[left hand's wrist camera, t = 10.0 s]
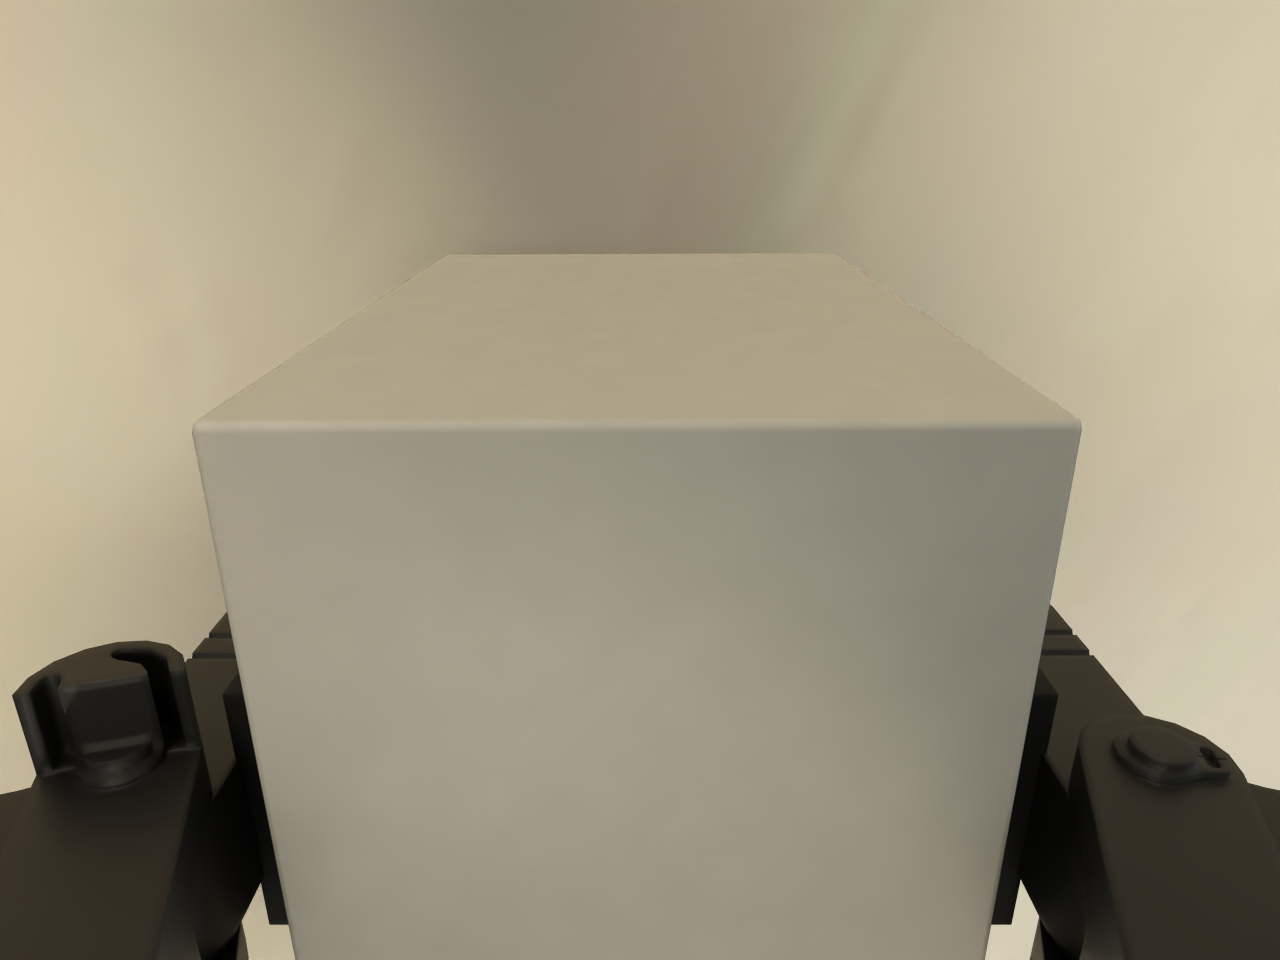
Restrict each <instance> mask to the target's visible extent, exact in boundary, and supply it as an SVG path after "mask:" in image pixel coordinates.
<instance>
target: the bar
mask: <svg viewBox="0 0 1280 960" xmlns="http://www.w3.org/2000/svg"><path fill="white" fill-rule="evenodd" d="M1081 430H1082V429H1081V423H1080V420H1079V419H1078V418H1077V417H1075V416H1074V415H1072V414H1071V413H1069V412H1068V411H1066V410H1065V409H1063V408H1062V407H1060V406H1059V405H1057V404H1056V403H1055V402H1053V401H1052V400H1050V399H1049V398H1047V397H1046V396H1044V395H1043V394H1041V393H1040V392H1038V391H1037V390H1035V389H1034V388H1032V387H1031V386H1030V385H1028V384H1027V383H1025V382H1024V381H1022V380H1021V379H1019V378H1018V377H1016V376H1015V375H1013V374H1012V373H1010V372H1009V371H1007V370H1006V369H1004V368H1003V367H1002V366H1000V365H999V364H997V363H996V362H994V361H993V360H991V359H990V358H988V357H987V356H985V355H984V354H982V353H981V352H979V351H978V350H977V349H975V348H974V347H972V346H971V345H969V344H968V343H966V342H965V341H963V340H962V339H960V338H959V337H957V336H956V335H954V334H953V333H951V332H950V331H949V330H947V329H946V328H944V327H943V326H941V325H940V324H938V323H937V322H935V321H934V320H932V319H931V318H929V317H928V316H926V315H925V314H924V313H922V312H921V311H919V310H918V309H916V308H915V307H913V306H912V305H910V304H909V303H907V302H906V301H904V300H903V299H901V298H900V297H898V296H897V295H896V294H894V293H893V292H891V291H890V290H888V289H887V288H885V287H884V286H882V285H881V284H879V283H878V282H876V281H875V280H873V279H872V278H870V277H869V276H868V275H866V274H865V273H863V272H862V271H860V270H859V269H857V268H856V267H854V266H853V265H851V264H850V263H848V262H847V261H845V260H844V259H843V258H841V257H840V256H838V255H837V254H834V253H709V254H479V255H446V256H444V257H443V258H441V259H440V260H438V261H437V262H435V263H434V264H432V265H431V266H429V267H427V268H426V269H424V270H423V271H421V272H420V273H418V274H417V275H415V276H414V277H412V278H411V279H409V280H408V281H406V282H405V283H403V284H402V285H400V286H399V287H397V288H396V289H394V290H393V291H391V292H390V293H388V294H387V295H385V296H384V297H382V298H381V299H379V300H378V301H376V302H375V303H373V304H372V305H370V306H369V307H367V308H366V309H364V310H363V311H361V312H360V313H358V314H357V315H355V316H354V317H352V318H351V319H349V320H348V321H346V322H345V323H343V324H342V325H340V326H339V327H337V328H336V329H334V330H333V331H331V332H330V333H328V334H327V335H325V336H324V337H322V338H321V339H319V340H318V341H316V342H315V343H313V344H312V345H310V346H309V347H307V348H306V349H304V350H303V351H301V352H300V353H298V354H297V355H295V356H293V357H292V358H290V359H289V360H287V361H286V362H284V363H283V364H281V365H280V366H278V367H277V368H275V369H274V370H272V371H271V372H269V373H268V374H266V375H265V376H263V377H262V378H260V379H259V380H257V381H256V382H254V383H253V384H251V385H250V386H248V387H247V388H245V389H244V390H242V391H241V392H239V393H238V394H236V395H235V396H233V397H232V398H230V399H229V400H227V401H226V402H224V403H223V404H221V405H220V406H218V407H217V408H215V409H214V410H212V411H211V412H209V413H208V414H206V415H205V416H203V417H202V418H200V419H199V420H197V421H196V422H194V425H193V430H192V434H193V439H194V444H195V450H196V455H197V460H198V465H199V470H200V475H201V480H202V485H203V490H204V495H205V501H206V506H207V511H208V516H209V521H210V526H211V531H212V536H213V541H214V546H215V552H216V557H217V562H218V567H219V572H220V577H221V582H222V587H223V592H224V597H225V603H226V608H227V613H228V618H229V623H230V628H231V633H232V638H233V643H234V648H235V654H236V659H237V664H238V669H239V674H240V679H241V684H242V689H243V694H244V699H245V705H246V710H247V715H248V720H249V725H250V730H251V735H252V740H253V745H254V750H255V756H256V761H257V766H258V771H259V776H260V781H261V786H262V791H263V796H264V801H265V807H266V812H267V817H268V822H269V827H270V832H271V837H272V842H273V847H274V852H275V858H276V863H277V868H278V873H279V878H280V883H281V888H282V893H283V898H284V903H285V909H286V914H287V919H288V924H289V929H290V934H291V939H292V944H293V949H294V954H295V960H985V955H986V949H987V944H988V938H989V933H990V927H991V922H992V916H993V911H994V906H995V900H996V895H997V889H998V884H999V878H1000V873H1001V867H1002V862H1003V856H1004V851H1005V845H1006V840H1007V835H1008V829H1009V824H1010V818H1011V813H1012V807H1013V802H1014V796H1015V791H1016V785H1017V780H1018V774H1019V769H1020V764H1021V758H1022V753H1023V747H1024V742H1025V736H1026V731H1027V725H1028V720H1029V714H1030V709H1031V703H1032V698H1033V693H1034V687H1035V682H1036V676H1037V671H1038V665H1039V660H1040V654H1041V649H1042V643H1043V638H1044V633H1045V627H1046V622H1047V616H1048V611H1049V605H1050V600H1051V594H1052V589H1053V583H1054V578H1055V572H1056V567H1057V562H1058V556H1059V551H1060V545H1061V540H1062V534H1063V529H1064V523H1065V518H1066V512H1067V507H1068V501H1069V496H1070V491H1071V485H1072V480H1073V474H1074V469H1075V463H1076V458H1077V452H1078V447H1079V441H1080V436H1081Z"/></svg>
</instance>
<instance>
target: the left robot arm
mask: <svg viewBox="0 0 1280 960" xmlns="http://www.w3.org/2000/svg"><path fill="white" fill-rule="evenodd" d="M192 654H193V656H192V659H187V661H186V662H185V663H184V658H183V655H182V654H181V653H180V652H178V651H177V650H176V649H174V648H173V647H171V646H170V645H167V644H162V643H156V642H151V641H129V642H116V643H111V644H107V645H102V646H98V647H93V648H89V649H85V650H82V651H80V652H77V653H75V654H72V655H70V656H67V657H65V658H62V659H60V660H57V661H54V662H53V663H51V664H49V665H48V666H46V667H45V668H43V669H41V670H40V671H38V672H37V673H35V674H33V675H32V676H30V677H29V678H28V679H27V680H26V681H25V682H24V683H23V684H22V685H21V686H20V687H19V688H18V689H17V691H16V692H15V693H14V694H13V695H12V697H13V700H14V703H15V706H16V710H17V713H18V716H19V719H20V722H21V726H22V729H23V732H24V735H25V739H26V742H27V745H28V748H29V751H30V755H31V758H32V761H33V764H34V768H35V771H36V774H37V775H36V777H35V780H34V782H33V784H32V786H31V788H27V789H23V790H19V791H15V792H10V793H6V794H1V795H0V960H248V959H249V957H248V951H247V944H246V938H245V934H244V929H243V925H242V919H243V917H244V915H245V913H246V911H247V909H248V907H249V905H250V903H251V901H252V899H253V897H254V895H255V893H256V891H257V889H258V887H259V885H260V883H261V885H262V890H263V895H264V900H265V905H266V910H267V914H268V919H269V924H270V925H289V924H288V919H287V914H286V909H285V903H284V898H283V893H282V888H281V883H280V878H279V873H278V868H277V863H276V858H275V852H274V847H273V842H272V837H271V832H270V827H269V822H268V817H267V812H266V807H265V801H264V796H263V791H262V786H261V781H260V776H259V771H258V766H257V761H256V756H255V750H254V745H253V740H252V735H251V730H250V725H249V720H248V715H247V710H246V705H245V699H244V694H243V689H242V684H241V679H240V674H239V669H238V664H237V659H236V654H235V648H234V643H233V638H232V633H231V628H230V623H229V618H228V613H227V612H226V614H225V615H224V616H223V617H222V618H221V620H220V621H219V622H218V623H217V624H216V626H215V627H214V628H213V629H212V630H211V632H210V633H209V638H205V639H204V640H203V641H202V643H201V644H200V645H199V646H198V647H197V649H196V650H195V651H194V652H193V653H192ZM1020 880H1021V881H1022V883H1023V885H1024V887H1025V889H1026V891H1027V893H1028V895H1029V897H1030V899H1031V901H1032V903H1033V905H1034V907H1035V909H1036V911H1037V913H1038V915H1039V920H1038V925H1037V929H1036V934H1035V938H1034V943H1033V947H1032V952H1031V956H1030V960H1280V790H1275V789H1270V788H1265V787H1261V786H1258V785H1254V784H1250V783H1248V782H1247V780H1246V778H1245V776H1244V774H1243V772H1242V771H1241V770H1240V768H1239V767H1238V766H1237V765H1236V763H1235V762H1234V761H1233V759H1232V758H1231V757H1230V755H1229V754H1227V753H1226V752H1225V751H1223V750H1222V749H1221V748H1219V747H1218V746H1216V745H1215V744H1214V743H1212V742H1211V741H1210V740H1208V739H1207V738H1205V737H1204V736H1201V735H1199V734H1197V733H1195V732H1193V731H1191V730H1188V729H1186V728H1184V727H1182V726H1180V725H1177V724H1175V723H1172V722H1168V721H1164V720H1160V719H1156V718H1152V717H1148V716H1145V715H1143V714H1142V713H1141V712H1140V710H1139V709H1138V708H1137V707H1136V706H1135V704H1134V703H1133V702H1132V701H1131V700H1130V698H1129V697H1128V696H1127V695H1126V694H1125V692H1124V691H1123V690H1122V689H1121V688H1120V687H1119V685H1118V684H1117V683H1116V682H1115V681H1114V679H1113V678H1112V677H1111V676H1110V675H1109V673H1108V672H1107V671H1106V670H1105V669H1104V667H1103V666H1102V665H1101V664H1100V663H1099V661H1098V660H1097V659H1096V658H1095V657H1094V655H1089V649H1088V648H1087V647H1086V646H1085V645H1084V643H1083V642H1082V641H1081V640H1080V639H1079V637H1078V636H1077V635H1073V634H1072V629H1071V628H1070V627H1069V626H1068V624H1067V623H1066V622H1065V621H1064V620H1063V618H1062V617H1061V616H1060V615H1059V614H1058V612H1057V611H1056V610H1055V609H1054V608H1053V606H1051V605H1049V611H1048V616H1047V622H1046V627H1045V633H1044V638H1043V643H1042V649H1041V654H1040V660H1039V665H1038V671H1037V676H1036V682H1035V687H1034V693H1033V698H1032V703H1031V709H1030V714H1029V720H1028V725H1027V731H1026V736H1025V742H1024V747H1023V753H1022V758H1021V764H1020V769H1019V774H1018V780H1017V785H1016V791H1015V796H1014V802H1013V807H1012V813H1011V818H1010V824H1009V829H1008V835H1007V840H1006V845H1005V851H1004V856H1003V862H1002V867H1001V873H1000V878H999V884H998V889H997V895H996V900H995V906H994V911H993V916H992V922H991V925H1011V923H1012V918H1013V914H1014V909H1015V904H1016V899H1017V894H1018V889H1019V885H1020Z"/></svg>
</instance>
